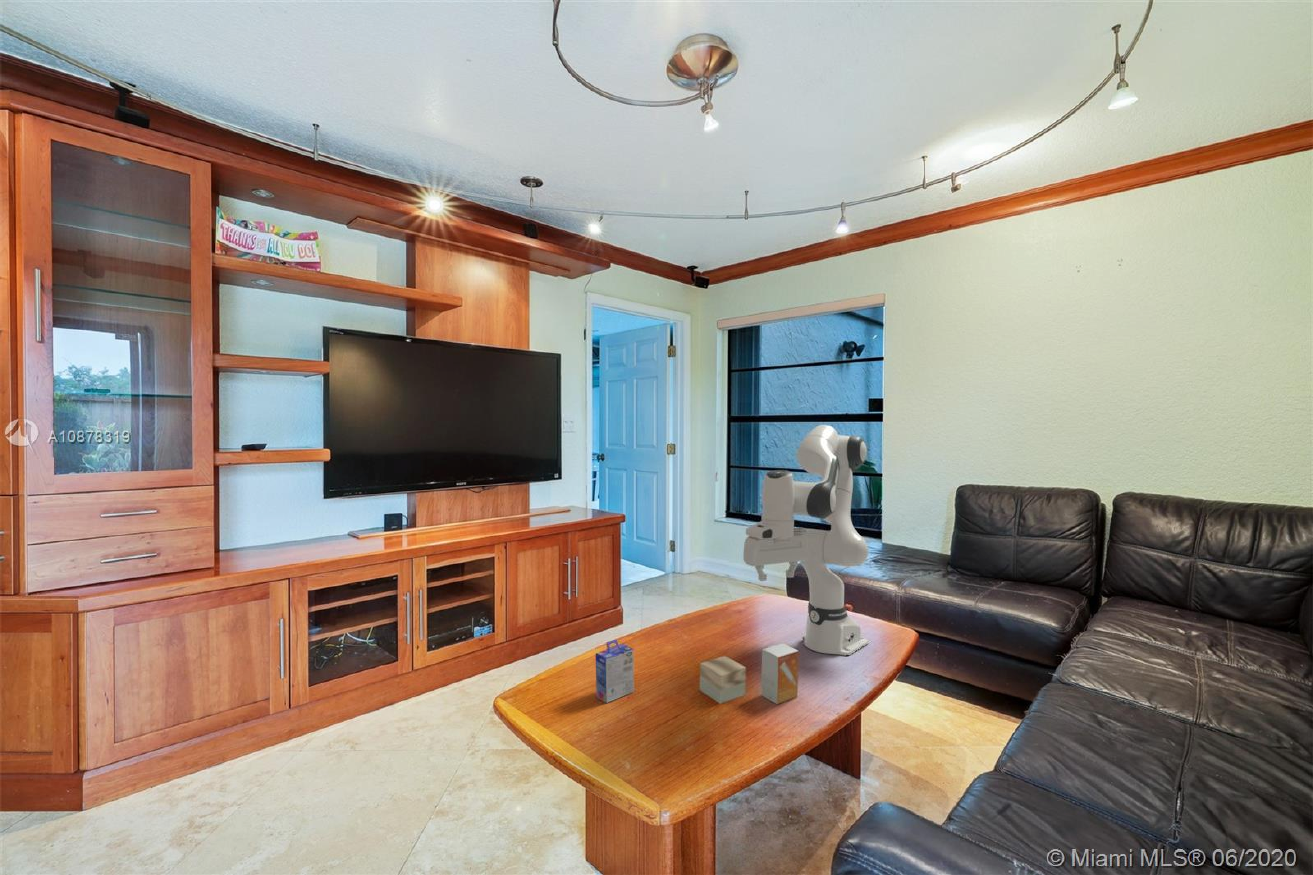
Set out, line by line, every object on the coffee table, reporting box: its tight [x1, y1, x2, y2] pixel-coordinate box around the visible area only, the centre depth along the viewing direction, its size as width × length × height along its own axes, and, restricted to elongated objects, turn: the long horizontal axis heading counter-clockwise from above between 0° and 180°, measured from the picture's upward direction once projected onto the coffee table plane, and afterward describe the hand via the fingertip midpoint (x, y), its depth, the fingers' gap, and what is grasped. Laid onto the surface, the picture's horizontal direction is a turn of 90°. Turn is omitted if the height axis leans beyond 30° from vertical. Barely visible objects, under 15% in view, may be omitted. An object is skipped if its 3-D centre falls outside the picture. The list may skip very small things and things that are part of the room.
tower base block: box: [699, 676, 746, 705], centre depth 153 cm, size 9×9×4 cm
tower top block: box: [699, 655, 747, 690], centre depth 153 cm, size 9×9×4 cm
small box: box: [760, 642, 799, 705], centre depth 151 cm, size 8×6×13 cm
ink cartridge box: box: [595, 639, 635, 704], centre depth 151 cm, size 10×6×14 cm, turn 132°
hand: (776, 578), depth 152 cm, fingers open, 8 cm apart
